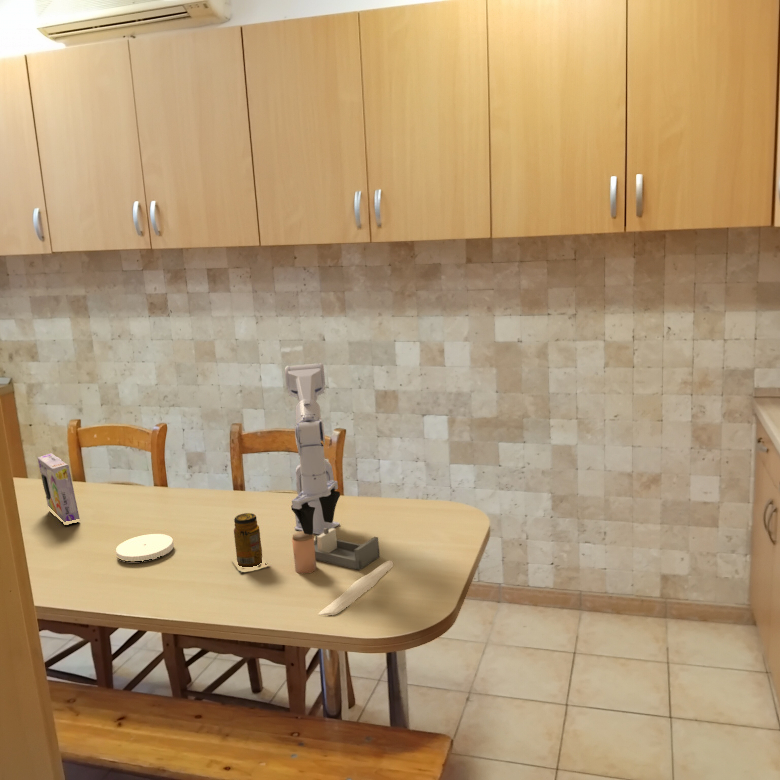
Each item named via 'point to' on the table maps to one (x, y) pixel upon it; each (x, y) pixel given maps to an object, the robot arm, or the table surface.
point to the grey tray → (350, 553)
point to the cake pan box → (58, 487)
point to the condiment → (247, 540)
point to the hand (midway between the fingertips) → (318, 527)
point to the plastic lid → (145, 547)
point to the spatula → (357, 589)
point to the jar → (304, 552)
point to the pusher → (327, 540)
